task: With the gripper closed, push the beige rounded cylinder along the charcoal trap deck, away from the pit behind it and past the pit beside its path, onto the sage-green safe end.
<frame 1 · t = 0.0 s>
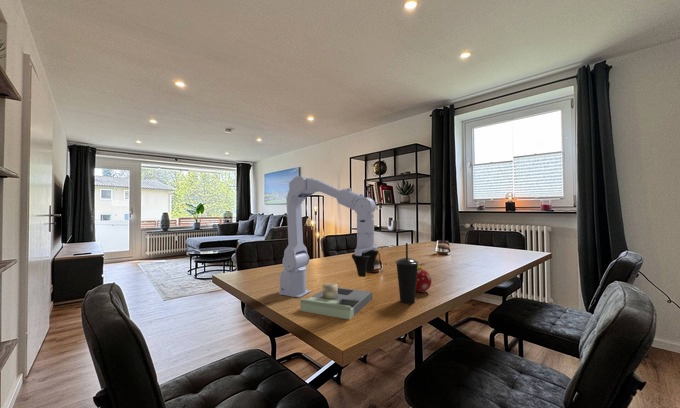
hand: (365, 273, 94), 10 cm above the table, fingers open, 7 cm apart
trap deck: (338, 304, 94), on the table
drinking cup: (407, 302, 96), on the table
beige rounded cylinder: (330, 297, 94), point 2 cm above the table, touching trap deck
christmas ornament: (419, 292, 107), on the table
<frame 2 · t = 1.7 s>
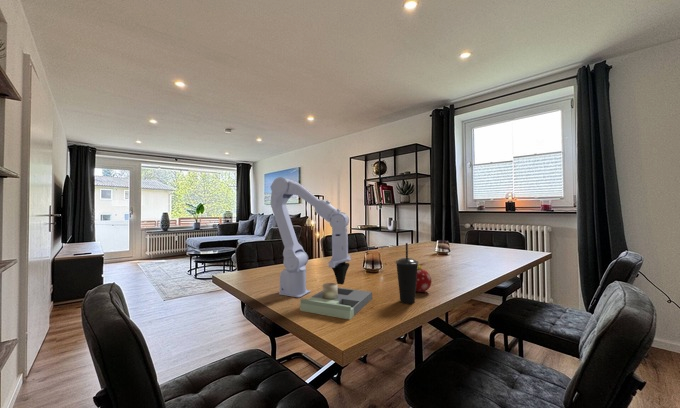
hand: (340, 283, 101), 5 cm above the table, fingers closed
nothing on the table moved.
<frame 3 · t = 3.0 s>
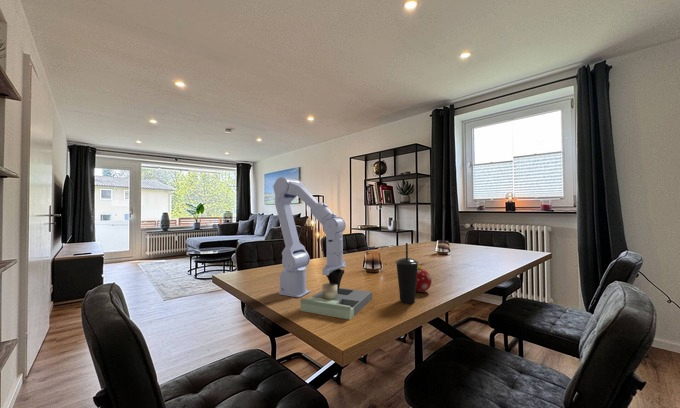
hand: (335, 291, 97), 3 cm above the table, fingers closed
beige rounded cylinder: (329, 297, 93), point 2 cm above the table, touching gripper
everything else where it was.
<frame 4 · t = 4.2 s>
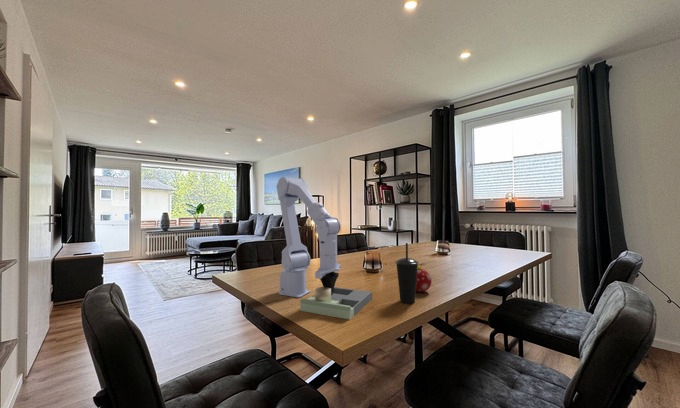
hand: (328, 295, 93), 3 cm above the table, fingers closed
beige rounded cylinder: (323, 301, 89), point 2 cm above the table, touching gripper, trap deck
everything else where it was.
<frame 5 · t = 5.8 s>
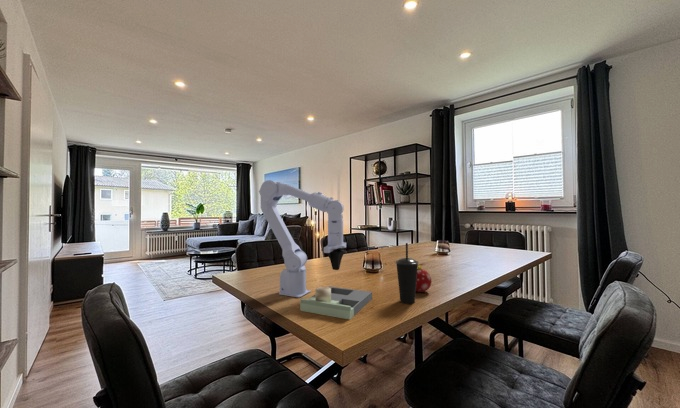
hand: (335, 269, 103), 9 cm above the table, fingers closed
beige rounded cylinder: (323, 301, 89), point 2 cm above the table, touching trap deck
everything else where it was.
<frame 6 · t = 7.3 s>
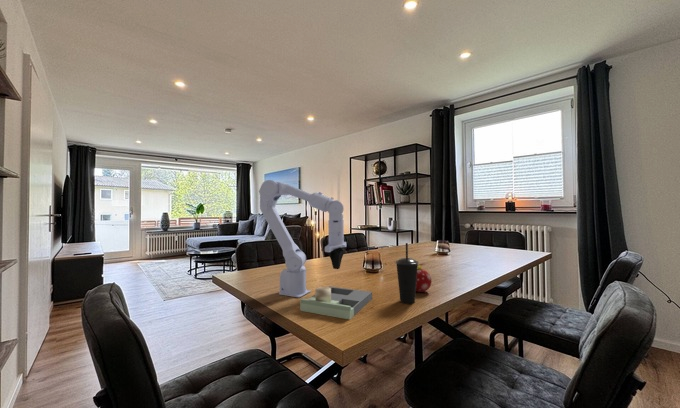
hand: (336, 268, 105), 9 cm above the table, fingers closed
nothing on the table moved.
at the end: beige rounded cylinder 0.3 cm from the target spot, point 2.4 cm above the table; beige rounded cylinder touching trap deck; beige rounded cylinder tilted 0° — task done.
